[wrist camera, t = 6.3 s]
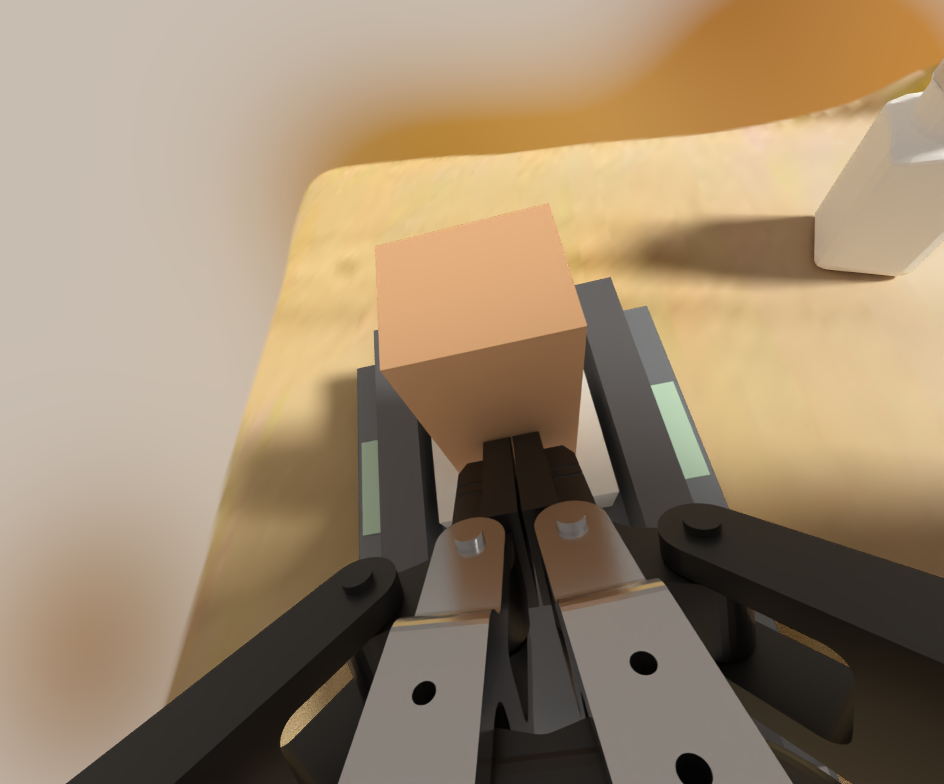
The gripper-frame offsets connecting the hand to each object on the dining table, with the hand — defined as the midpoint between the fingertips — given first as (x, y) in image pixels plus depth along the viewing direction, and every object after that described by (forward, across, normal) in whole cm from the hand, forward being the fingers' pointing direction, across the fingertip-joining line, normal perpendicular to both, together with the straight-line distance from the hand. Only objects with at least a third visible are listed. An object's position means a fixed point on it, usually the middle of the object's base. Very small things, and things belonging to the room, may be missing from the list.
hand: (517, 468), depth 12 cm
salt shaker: (+13, -18, -2) cm, 22 cm away
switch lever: (+5, 0, +2) cm, 6 cm away
